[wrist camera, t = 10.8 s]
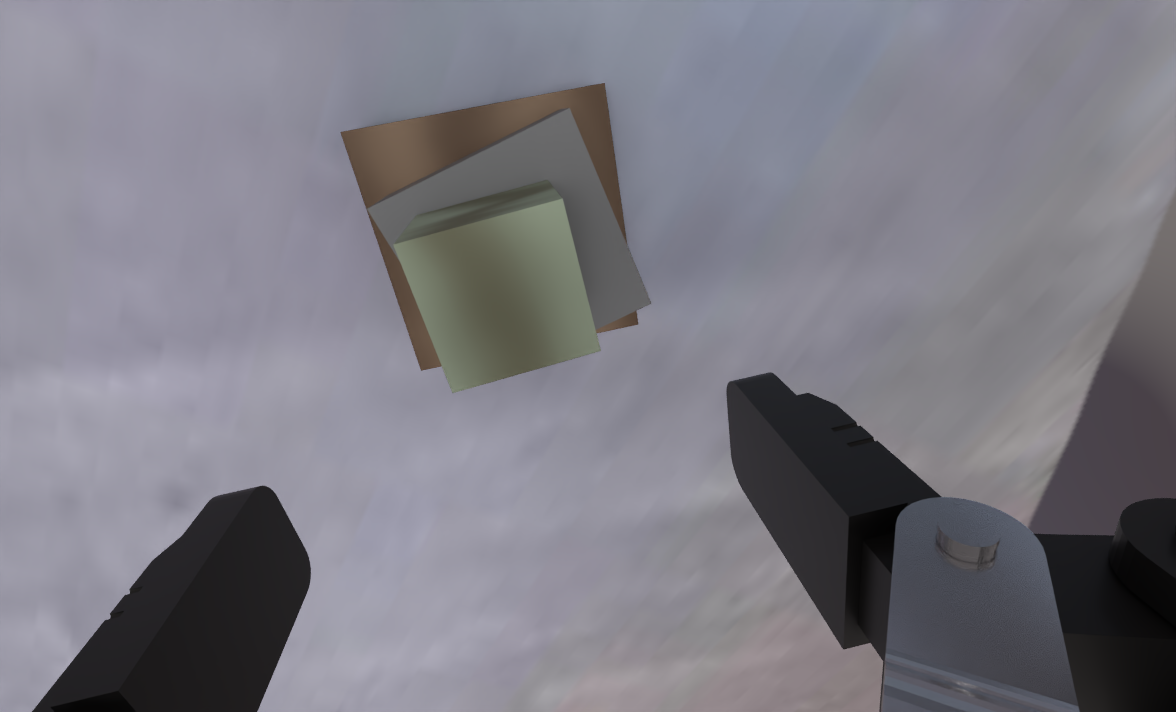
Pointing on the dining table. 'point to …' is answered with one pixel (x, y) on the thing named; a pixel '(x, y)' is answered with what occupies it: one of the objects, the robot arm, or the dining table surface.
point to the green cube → (499, 285)
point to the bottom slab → (441, 139)
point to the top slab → (524, 161)
